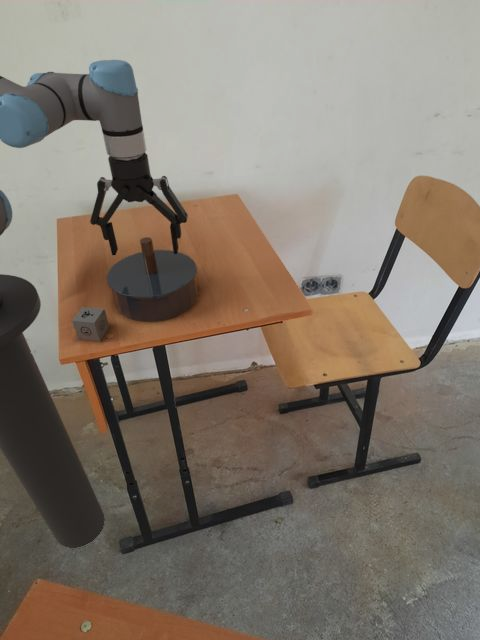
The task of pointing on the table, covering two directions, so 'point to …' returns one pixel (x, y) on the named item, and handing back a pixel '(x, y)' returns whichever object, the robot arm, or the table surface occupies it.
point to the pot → (157, 305)
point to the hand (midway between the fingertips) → (145, 251)
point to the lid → (151, 273)
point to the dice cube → (90, 324)
